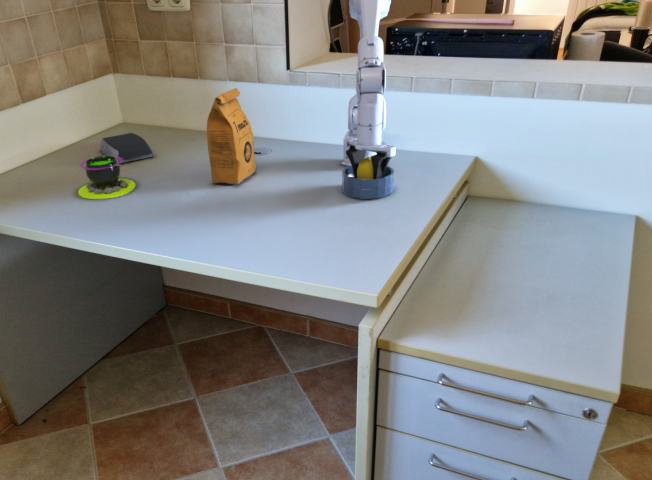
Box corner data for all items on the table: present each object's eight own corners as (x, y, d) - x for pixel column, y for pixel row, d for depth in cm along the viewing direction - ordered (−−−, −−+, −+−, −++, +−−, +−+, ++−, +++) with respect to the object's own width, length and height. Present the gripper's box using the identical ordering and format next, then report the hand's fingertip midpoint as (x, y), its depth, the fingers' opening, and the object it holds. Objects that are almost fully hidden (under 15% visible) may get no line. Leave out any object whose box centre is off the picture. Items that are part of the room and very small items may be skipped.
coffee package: (262, 173, 163) (256, 87, 150) (239, 188, 154) (230, 98, 141) (231, 169, 167) (222, 85, 154) (206, 184, 158) (195, 96, 146)
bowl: (332, 192, 148) (331, 172, 145) (365, 179, 155) (365, 159, 152) (370, 204, 140) (371, 183, 138) (403, 189, 147) (404, 169, 144)
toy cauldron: (146, 182, 162) (139, 141, 156) (111, 202, 151) (102, 158, 145) (102, 177, 167) (93, 137, 161) (66, 195, 156) (54, 153, 150)
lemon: (381, 186, 149) (382, 153, 144) (376, 194, 144) (377, 161, 140) (359, 184, 150) (359, 152, 146) (354, 192, 146) (354, 159, 141)
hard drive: (114, 166, 175) (111, 152, 173) (97, 150, 190) (94, 137, 187) (156, 157, 180) (154, 143, 178) (137, 142, 194) (135, 130, 192)
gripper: (334, 122, 141) (335, 178, 148) (382, 132, 132) (380, 191, 139) (354, 115, 145) (354, 171, 152) (402, 125, 135) (399, 183, 143)
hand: (367, 180), depth 146 cm, fingers closed on lemon, 5 cm apart
